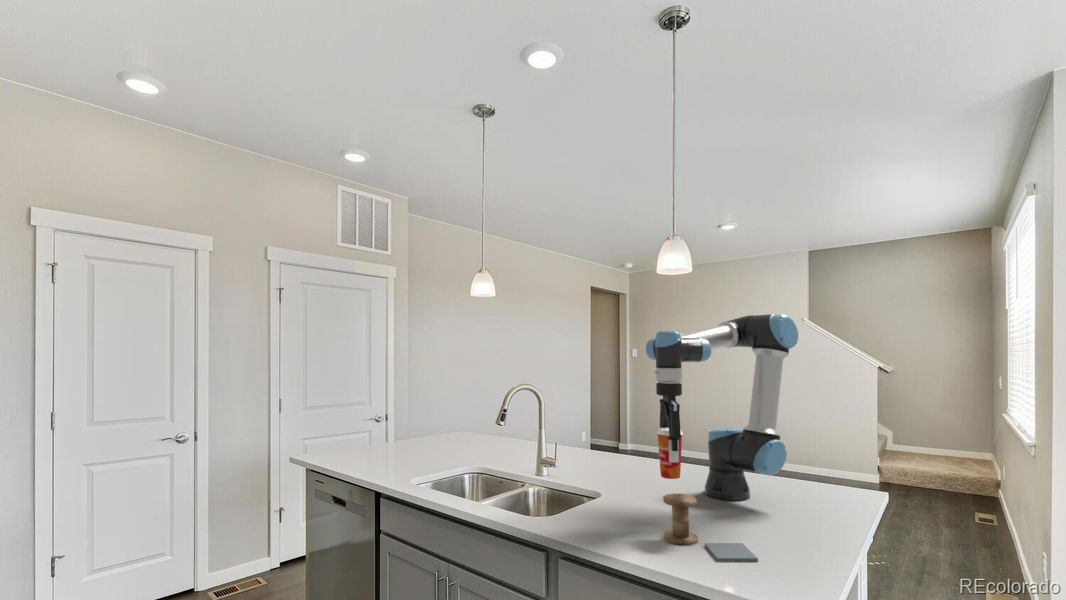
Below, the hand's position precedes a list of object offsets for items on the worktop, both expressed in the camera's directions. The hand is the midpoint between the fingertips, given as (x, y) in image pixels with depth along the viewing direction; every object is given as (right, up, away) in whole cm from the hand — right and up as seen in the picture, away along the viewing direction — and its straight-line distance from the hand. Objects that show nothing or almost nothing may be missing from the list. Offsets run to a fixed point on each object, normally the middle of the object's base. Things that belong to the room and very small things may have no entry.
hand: (670, 458), depth 161 cm
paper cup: (0, -5, 0) cm, 5 cm away
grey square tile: (+10, -18, -23) cm, 31 cm away
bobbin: (0, -18, -13) cm, 23 cm away
